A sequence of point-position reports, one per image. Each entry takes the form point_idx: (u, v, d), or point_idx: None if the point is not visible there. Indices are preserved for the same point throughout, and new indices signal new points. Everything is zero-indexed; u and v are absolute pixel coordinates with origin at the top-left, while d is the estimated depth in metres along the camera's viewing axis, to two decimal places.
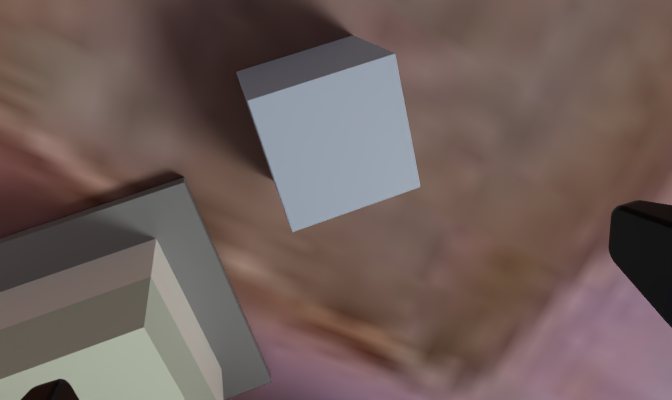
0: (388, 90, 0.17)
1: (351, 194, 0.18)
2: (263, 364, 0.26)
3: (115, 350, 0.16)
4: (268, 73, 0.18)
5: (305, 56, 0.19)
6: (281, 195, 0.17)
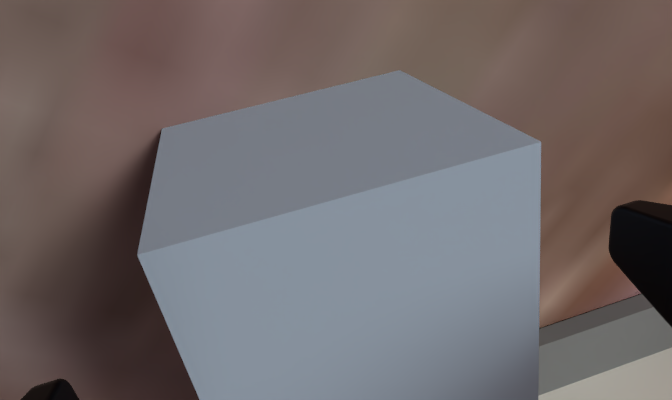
0: (246, 260, 0.06)
1: (499, 316, 0.07)
2: None
3: None
4: None
5: None
6: None
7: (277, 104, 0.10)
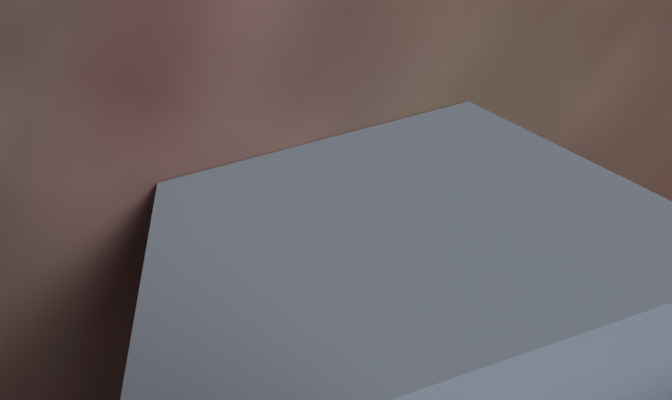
0: None
1: None
2: None
3: None
4: None
5: None
6: None
7: (312, 150, 0.07)
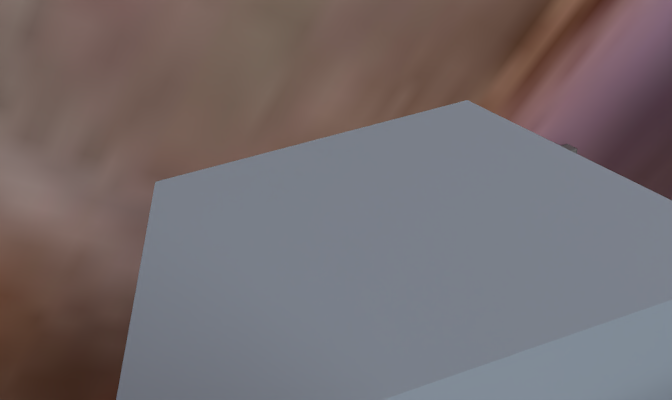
0: None
1: None
2: None
3: None
4: None
5: None
6: None
7: (311, 149, 0.07)
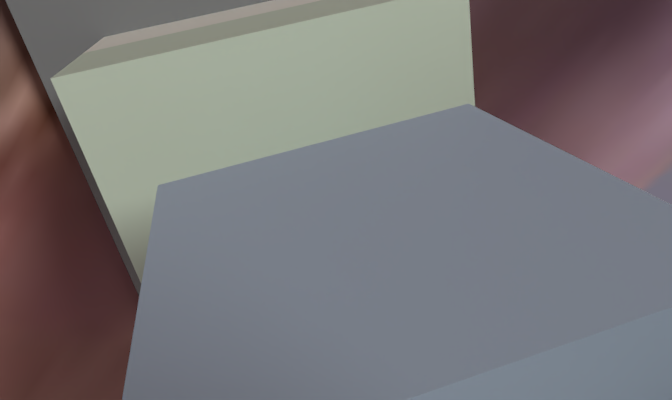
0: None
1: None
2: None
3: (104, 133, 0.09)
4: None
5: None
6: None
7: (312, 153, 0.07)
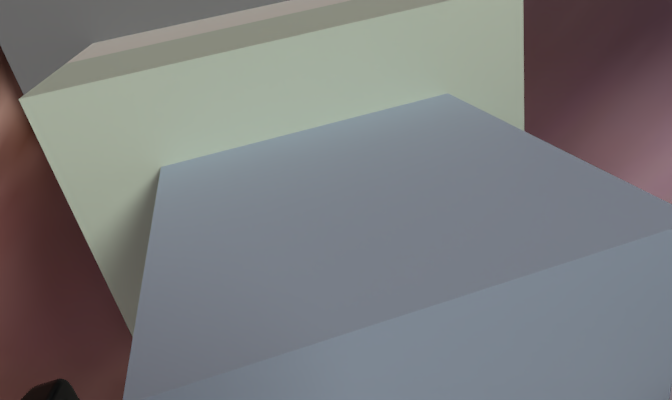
0: None
1: None
2: None
3: (85, 163, 0.08)
4: None
5: None
6: None
7: (303, 137, 0.08)
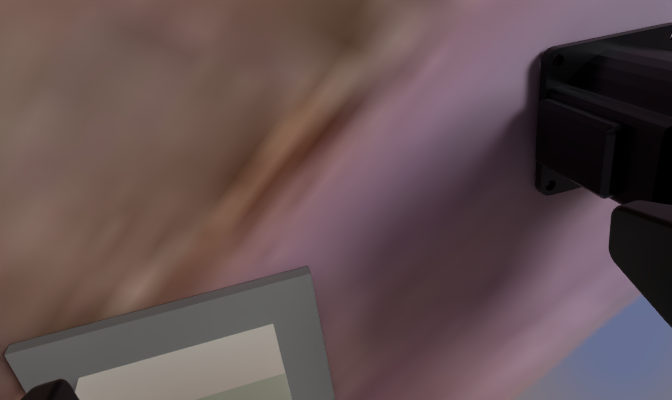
0: None
1: None
2: (281, 281, 0.21)
3: None
4: None
5: None
6: None
7: None
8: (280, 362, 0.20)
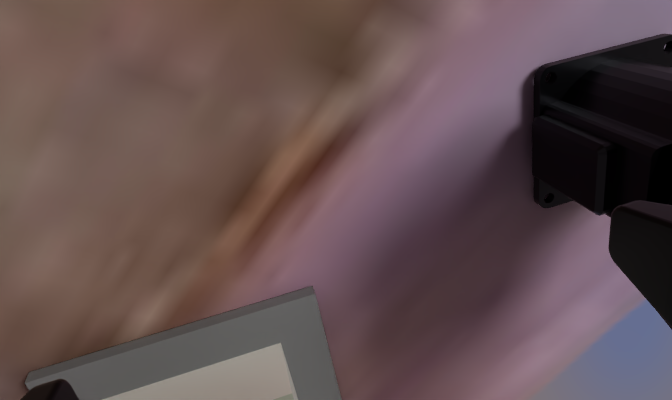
0: None
1: None
2: (286, 302, 0.22)
3: None
4: None
5: None
6: None
7: None
8: (288, 382, 0.20)
